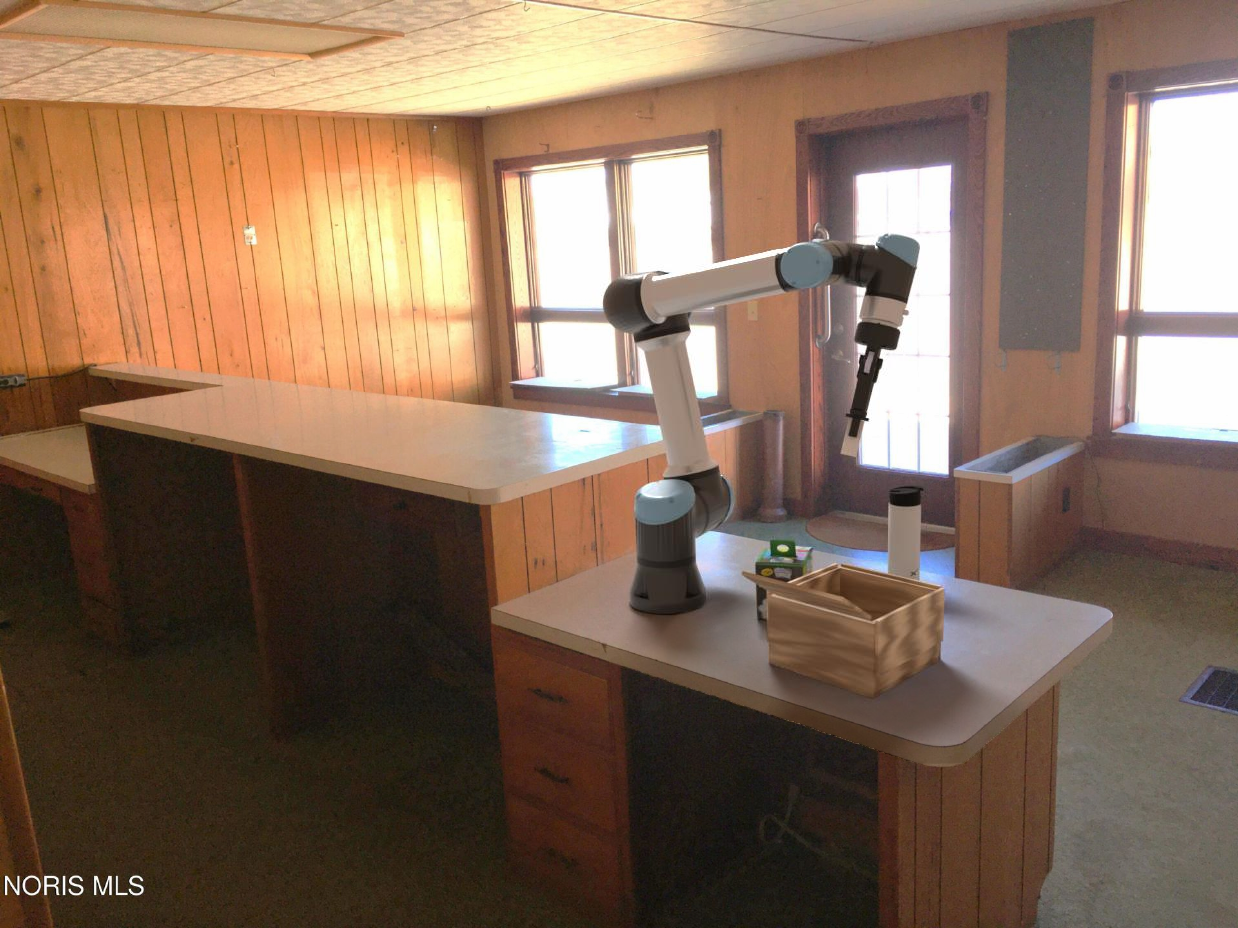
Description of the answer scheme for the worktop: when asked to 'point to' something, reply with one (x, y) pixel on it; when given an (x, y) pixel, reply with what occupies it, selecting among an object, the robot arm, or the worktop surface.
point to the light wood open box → (858, 629)
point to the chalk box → (780, 568)
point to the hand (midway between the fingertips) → (848, 455)
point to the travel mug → (904, 531)
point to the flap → (807, 595)
